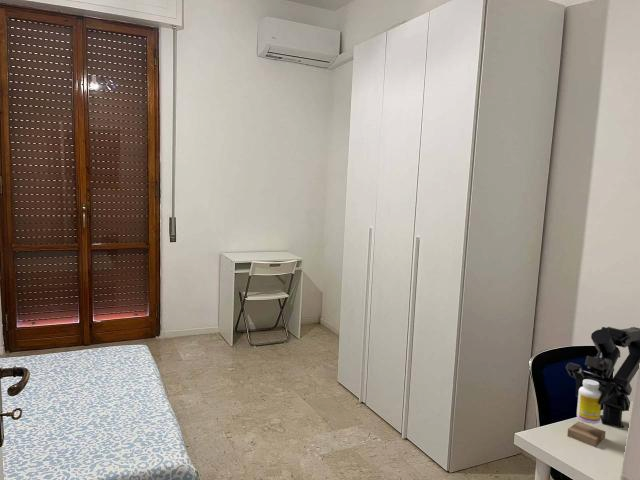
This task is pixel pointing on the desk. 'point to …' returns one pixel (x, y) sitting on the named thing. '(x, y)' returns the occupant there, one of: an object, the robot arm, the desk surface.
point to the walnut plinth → (586, 434)
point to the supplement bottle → (589, 402)
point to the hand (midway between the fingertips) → (587, 399)
